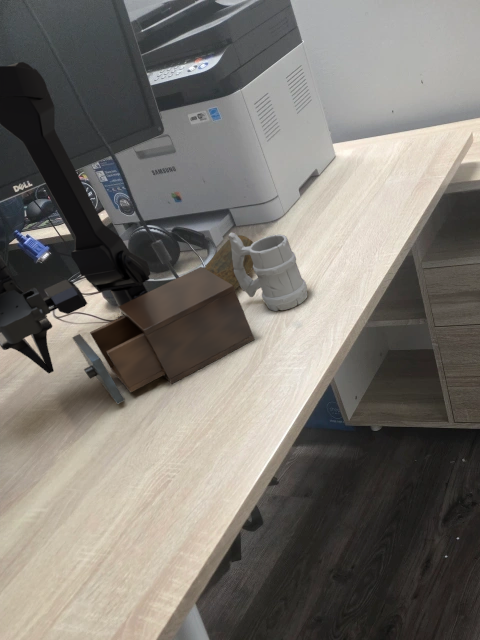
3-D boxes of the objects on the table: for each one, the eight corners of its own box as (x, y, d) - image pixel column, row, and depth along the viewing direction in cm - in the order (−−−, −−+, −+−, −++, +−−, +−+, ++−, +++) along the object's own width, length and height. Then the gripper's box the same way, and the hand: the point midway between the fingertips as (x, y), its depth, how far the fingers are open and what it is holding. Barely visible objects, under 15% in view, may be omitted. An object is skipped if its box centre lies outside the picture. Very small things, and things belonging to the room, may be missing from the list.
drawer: (110, 408, 94) (83, 365, 90) (89, 381, 102) (64, 341, 97) (198, 361, 99) (178, 317, 94) (173, 338, 106) (152, 298, 102)
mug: (299, 310, 105) (274, 238, 97) (237, 314, 110) (209, 245, 102) (316, 287, 110) (294, 216, 102) (256, 292, 115) (230, 224, 107)
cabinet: (171, 384, 97) (143, 330, 91) (145, 357, 106) (117, 306, 100) (254, 339, 102) (233, 285, 95) (222, 317, 110) (201, 266, 104)
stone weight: (232, 268, 125) (219, 234, 121) (265, 264, 123) (252, 229, 119) (201, 308, 115) (185, 272, 111) (236, 304, 113) (221, 267, 108)
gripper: (-81, 321, 78) (-1, 423, 89) (64, 256, 83) (123, 359, 94) (-88, 297, 86) (-14, 394, 96) (46, 239, 91) (103, 337, 102)
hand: (50, 371), depth 97 cm, fingers closed
